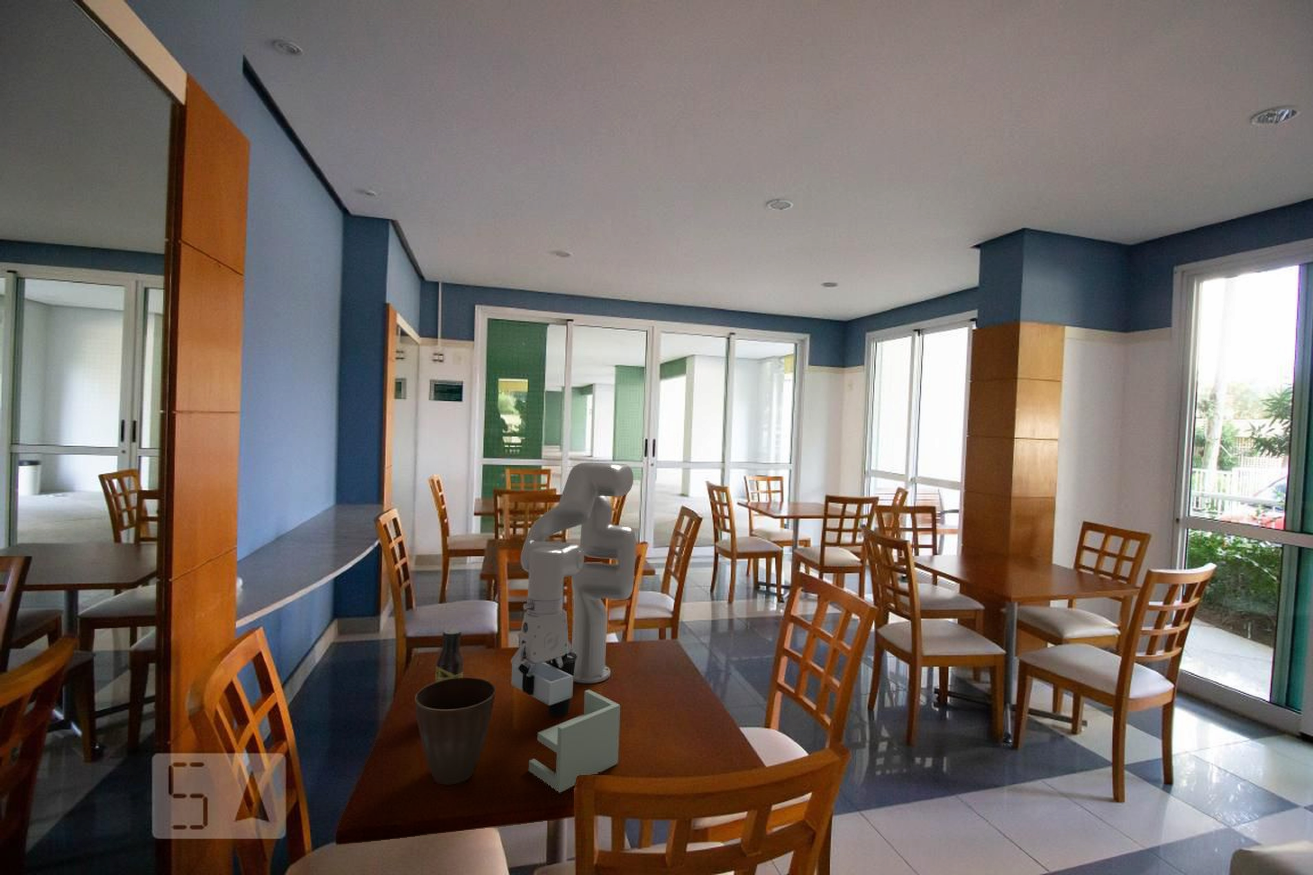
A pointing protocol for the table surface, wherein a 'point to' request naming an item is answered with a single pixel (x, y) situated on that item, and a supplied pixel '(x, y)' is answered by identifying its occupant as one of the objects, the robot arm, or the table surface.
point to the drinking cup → (563, 706)
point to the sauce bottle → (450, 657)
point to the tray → (546, 683)
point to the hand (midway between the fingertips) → (541, 687)
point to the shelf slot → (581, 743)
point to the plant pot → (454, 725)
